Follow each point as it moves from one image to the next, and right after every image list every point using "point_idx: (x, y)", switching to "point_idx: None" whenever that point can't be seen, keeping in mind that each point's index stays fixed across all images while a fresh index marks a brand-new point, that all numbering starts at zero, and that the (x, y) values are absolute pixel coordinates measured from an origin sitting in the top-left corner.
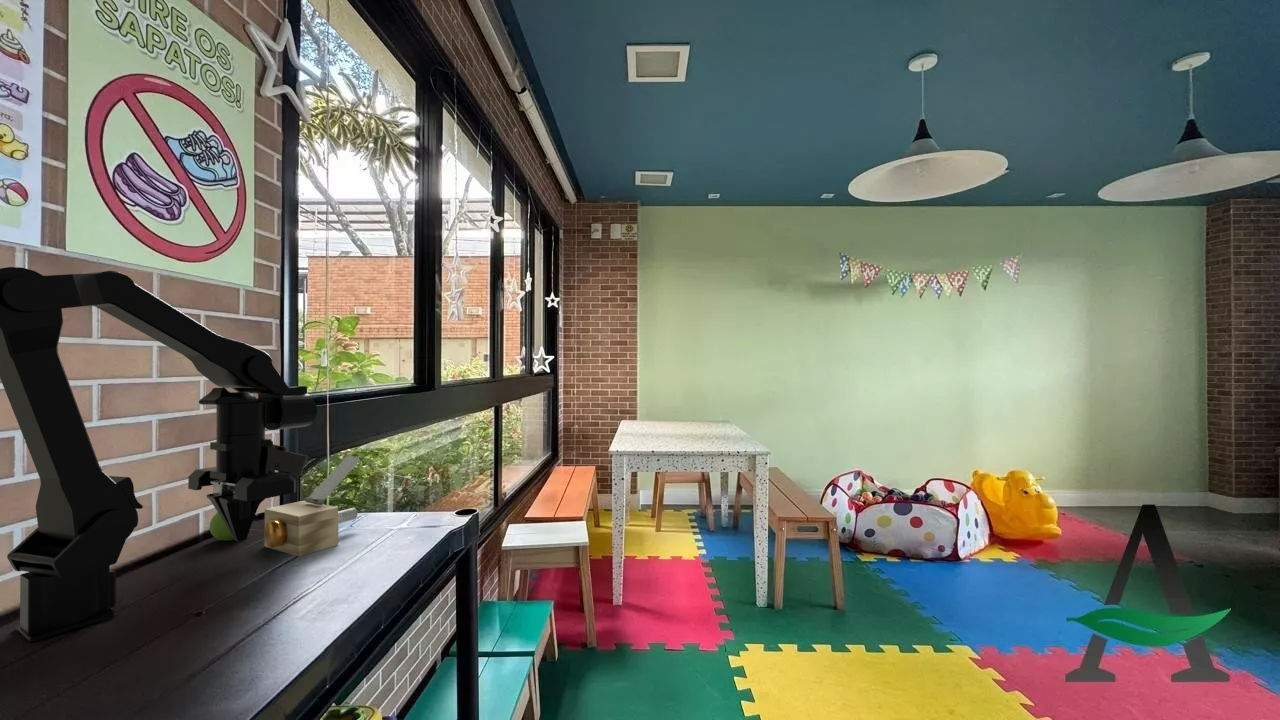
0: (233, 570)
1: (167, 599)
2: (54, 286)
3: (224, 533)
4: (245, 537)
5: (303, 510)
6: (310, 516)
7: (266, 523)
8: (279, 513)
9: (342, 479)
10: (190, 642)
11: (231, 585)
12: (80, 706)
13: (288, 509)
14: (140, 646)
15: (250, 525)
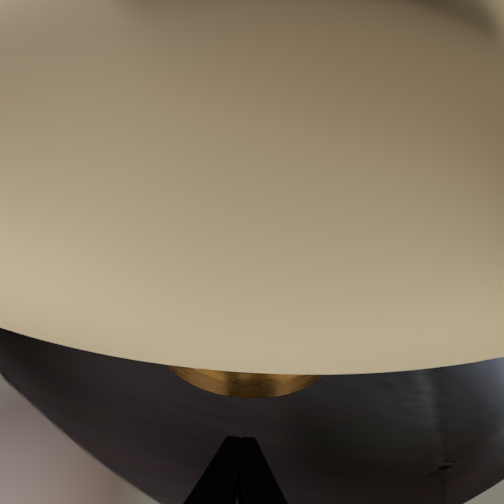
0: (299, 409)
1: (336, 489)
2: None
3: None
4: (256, 448)
5: (451, 190)
6: None
7: (180, 375)
8: (207, 359)
9: None
10: (486, 467)
11: (403, 434)
12: (471, 498)
13: (154, 237)
14: (442, 493)
15: (281, 493)
